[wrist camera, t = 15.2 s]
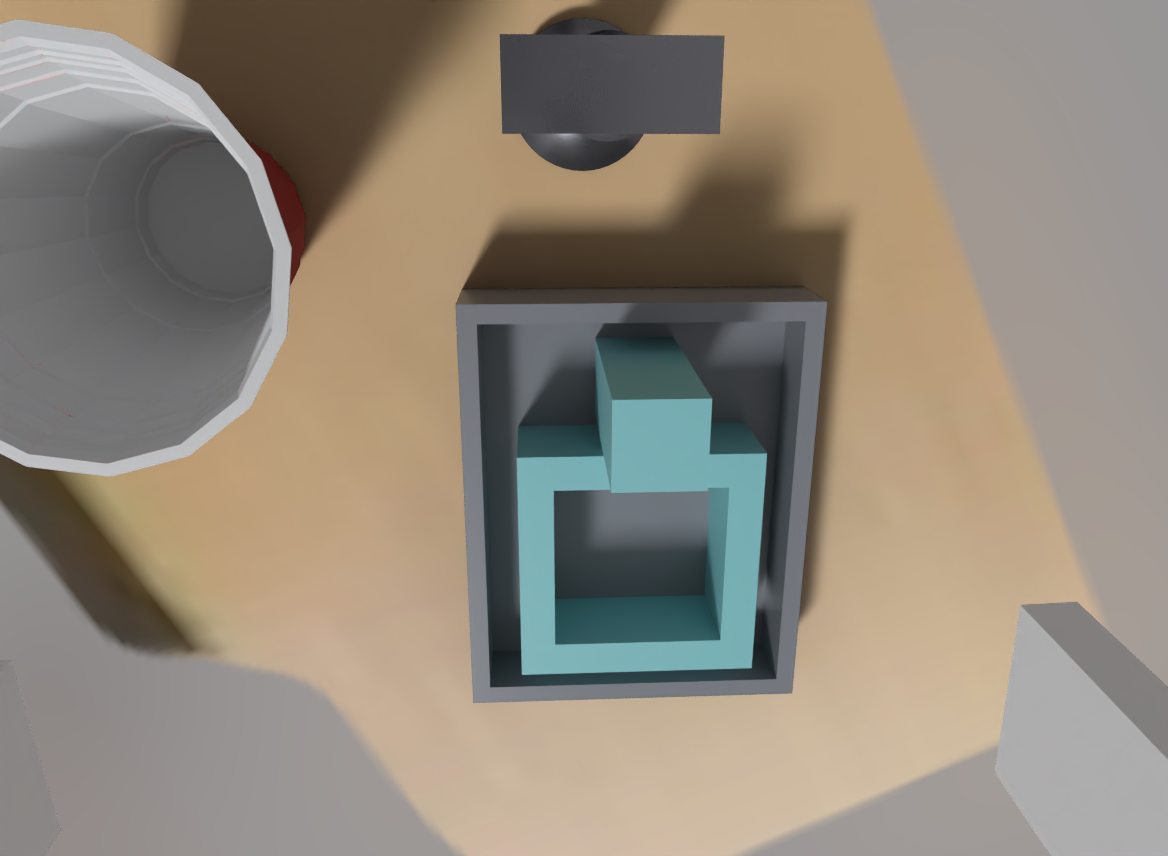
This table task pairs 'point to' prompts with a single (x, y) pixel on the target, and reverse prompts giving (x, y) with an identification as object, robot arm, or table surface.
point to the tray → (642, 519)
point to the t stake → (606, 89)
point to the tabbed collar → (642, 464)
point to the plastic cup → (130, 256)
